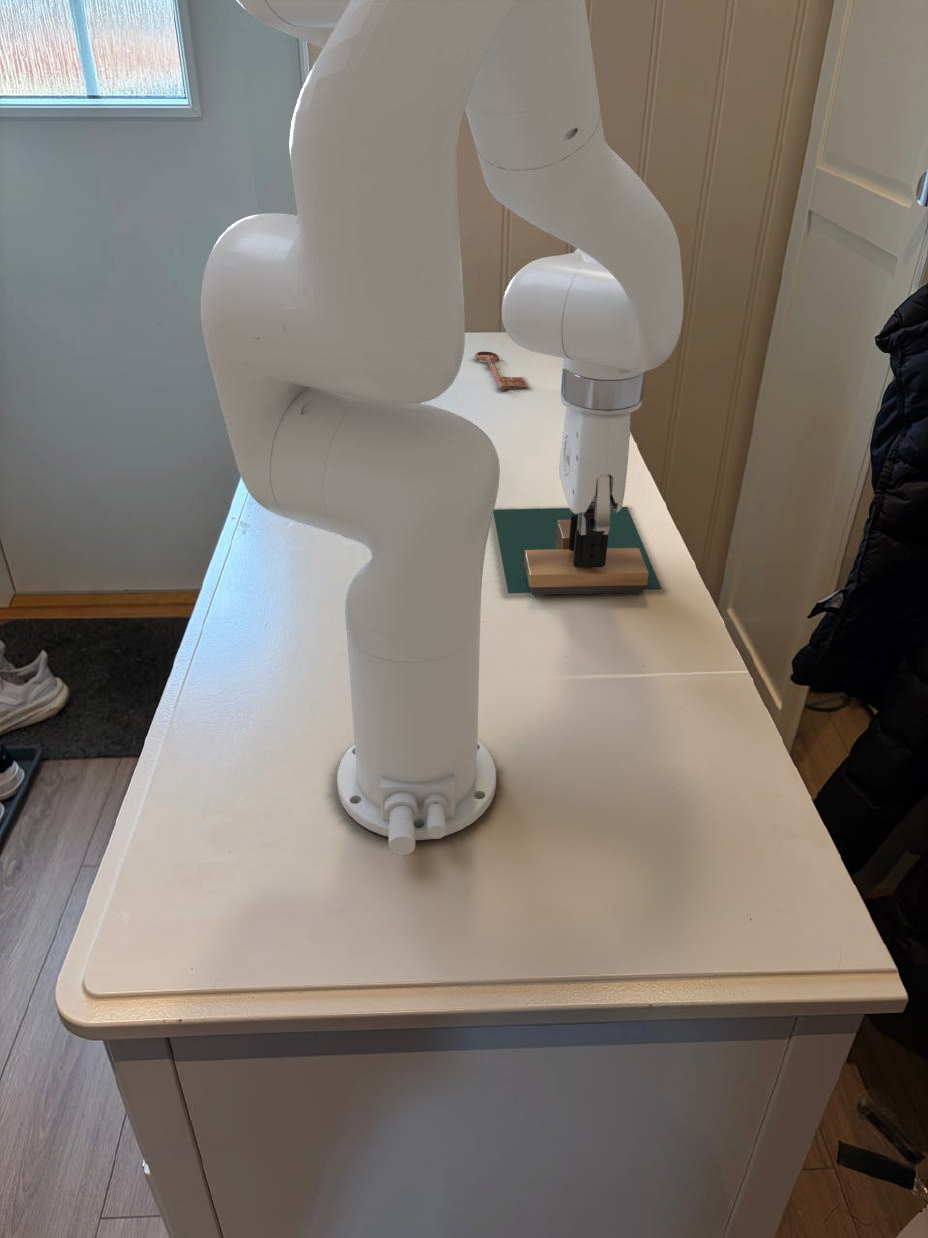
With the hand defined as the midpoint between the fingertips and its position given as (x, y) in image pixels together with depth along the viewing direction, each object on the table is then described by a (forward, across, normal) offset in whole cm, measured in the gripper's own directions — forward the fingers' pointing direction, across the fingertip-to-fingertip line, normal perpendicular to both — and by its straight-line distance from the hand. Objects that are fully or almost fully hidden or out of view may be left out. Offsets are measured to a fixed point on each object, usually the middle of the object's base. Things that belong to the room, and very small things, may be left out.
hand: (586, 556), depth 101 cm
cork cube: (+3, -5, 0) cm, 6 cm away
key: (+4, -62, -3) cm, 62 cm away
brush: (+3, 0, 0) cm, 3 cm away
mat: (+4, -8, 0) cm, 9 cm away
